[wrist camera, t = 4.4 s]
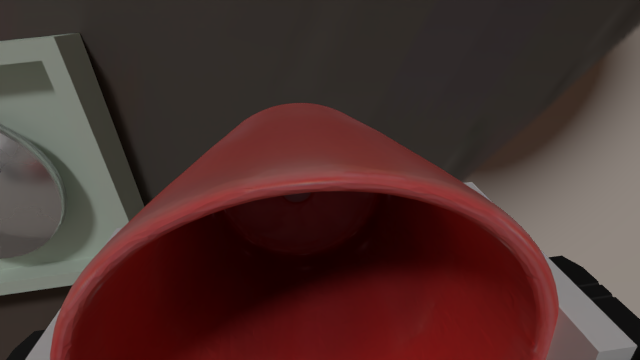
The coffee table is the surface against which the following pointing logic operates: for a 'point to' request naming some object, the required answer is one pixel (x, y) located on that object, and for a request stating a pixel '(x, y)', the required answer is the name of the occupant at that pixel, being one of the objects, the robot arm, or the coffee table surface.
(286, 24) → the coffee table surface
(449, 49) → the coffee table surface
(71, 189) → the pale green square tray
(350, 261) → the flower pot
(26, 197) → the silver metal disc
